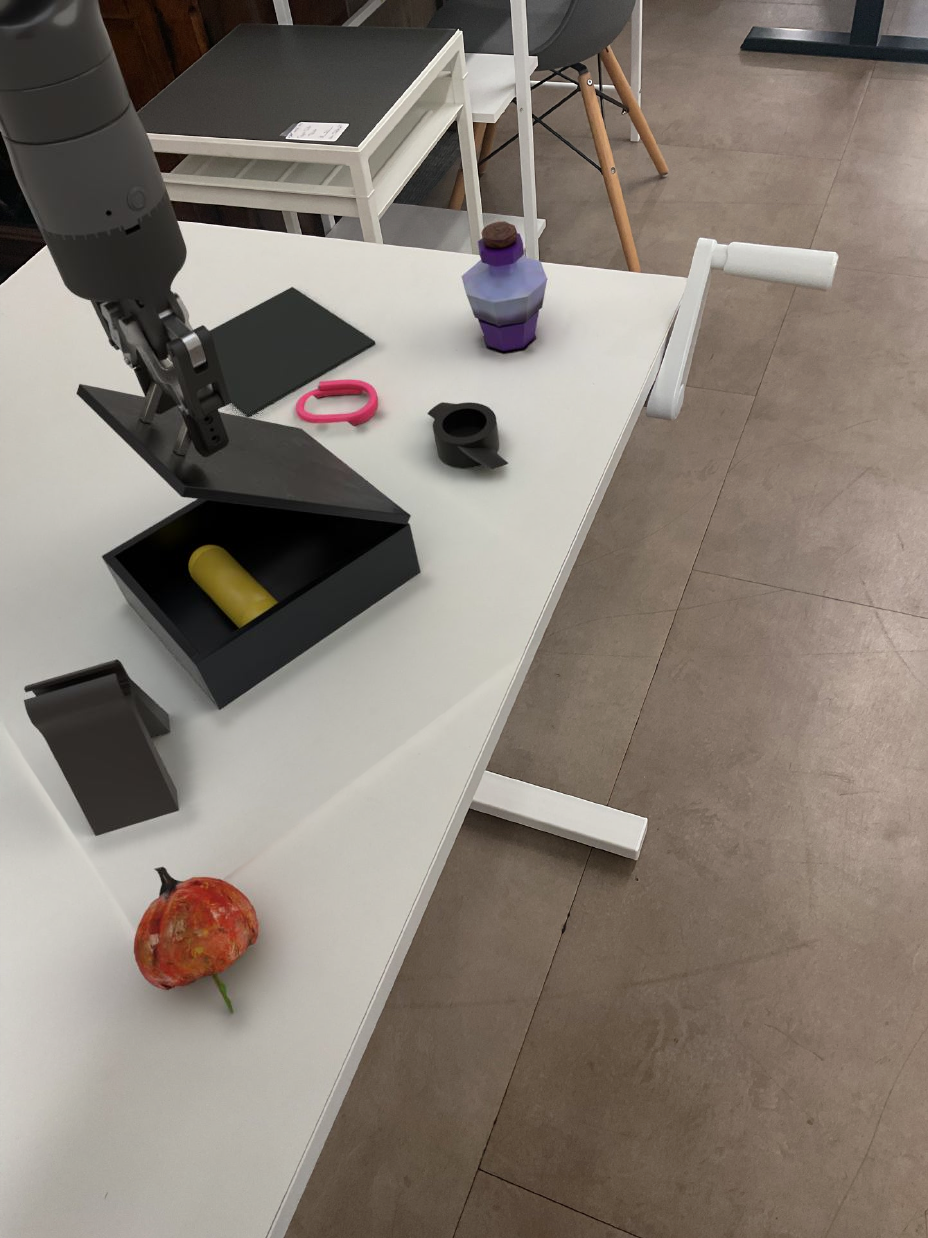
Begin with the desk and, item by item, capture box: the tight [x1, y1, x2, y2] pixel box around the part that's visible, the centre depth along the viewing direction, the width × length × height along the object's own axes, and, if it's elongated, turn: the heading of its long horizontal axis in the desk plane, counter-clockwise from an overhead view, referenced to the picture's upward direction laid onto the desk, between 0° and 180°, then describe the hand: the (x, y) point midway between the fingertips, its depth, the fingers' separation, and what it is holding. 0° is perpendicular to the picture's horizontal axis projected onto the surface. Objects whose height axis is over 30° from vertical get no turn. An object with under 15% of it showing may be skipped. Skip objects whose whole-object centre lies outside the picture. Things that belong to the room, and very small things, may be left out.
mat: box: [209, 286, 376, 418], centre depth 107 cm, size 16×16×1 cm
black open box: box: [101, 499, 422, 711], centre depth 82 cm, size 20×16×6 cm
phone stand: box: [23, 658, 180, 837], centre depth 70 cm, size 9×6×12 cm, turn 15°
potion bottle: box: [460, 221, 548, 355], centre depth 99 cm, size 9×9×12 cm
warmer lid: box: [76, 358, 412, 524], centre depth 74 cm, size 20×16×5 cm
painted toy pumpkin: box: [133, 866, 259, 1015], centre depth 62 cm, size 7×7×10 cm
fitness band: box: [295, 378, 379, 426], centre depth 99 cm, size 8×6×2 cm
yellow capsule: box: [189, 545, 278, 628], centre depth 81 cm, size 4×12×4 cm, turn 40°
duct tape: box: [426, 401, 509, 470], centre depth 92 cm, size 8×10×3 cm
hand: (190, 427), depth 70 cm, fingers closed on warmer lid, 6 cm apart
